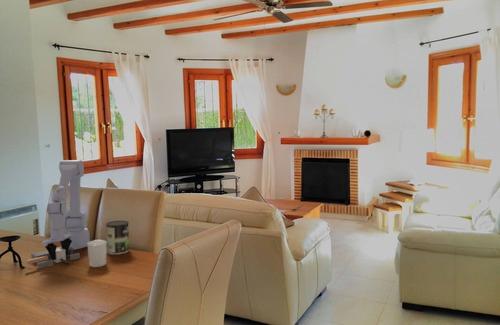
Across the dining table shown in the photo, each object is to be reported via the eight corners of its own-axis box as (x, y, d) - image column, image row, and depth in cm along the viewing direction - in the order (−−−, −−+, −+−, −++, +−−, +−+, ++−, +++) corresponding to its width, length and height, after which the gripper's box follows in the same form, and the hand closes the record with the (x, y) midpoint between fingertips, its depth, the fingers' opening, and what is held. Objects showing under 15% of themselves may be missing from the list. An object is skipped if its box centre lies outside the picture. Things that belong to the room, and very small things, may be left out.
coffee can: (132, 248, 198) (131, 220, 197) (125, 254, 188) (124, 225, 187) (111, 248, 199) (110, 220, 197) (103, 254, 188) (102, 225, 187)
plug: (61, 258, 183) (61, 247, 182) (73, 263, 176) (72, 252, 175) (51, 260, 179) (51, 249, 179) (62, 266, 172) (62, 254, 172)
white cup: (110, 261, 178) (109, 240, 177) (102, 268, 171) (101, 245, 170) (93, 261, 179) (92, 239, 178) (84, 267, 171) (83, 244, 170)
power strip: (67, 252, 192) (66, 245, 191) (79, 258, 183) (79, 250, 183) (26, 262, 178) (26, 254, 178) (38, 268, 170) (38, 260, 169)
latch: (46, 258, 173) (46, 255, 173) (48, 259, 172) (47, 256, 172) (27, 263, 167) (26, 260, 167) (28, 264, 166) (28, 260, 166)
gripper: (65, 223, 186) (66, 251, 187) (36, 230, 173) (38, 261, 175) (76, 225, 183) (77, 253, 184) (47, 232, 170) (49, 263, 171)
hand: (59, 257), depth 179 cm, fingers open, 5 cm apart
